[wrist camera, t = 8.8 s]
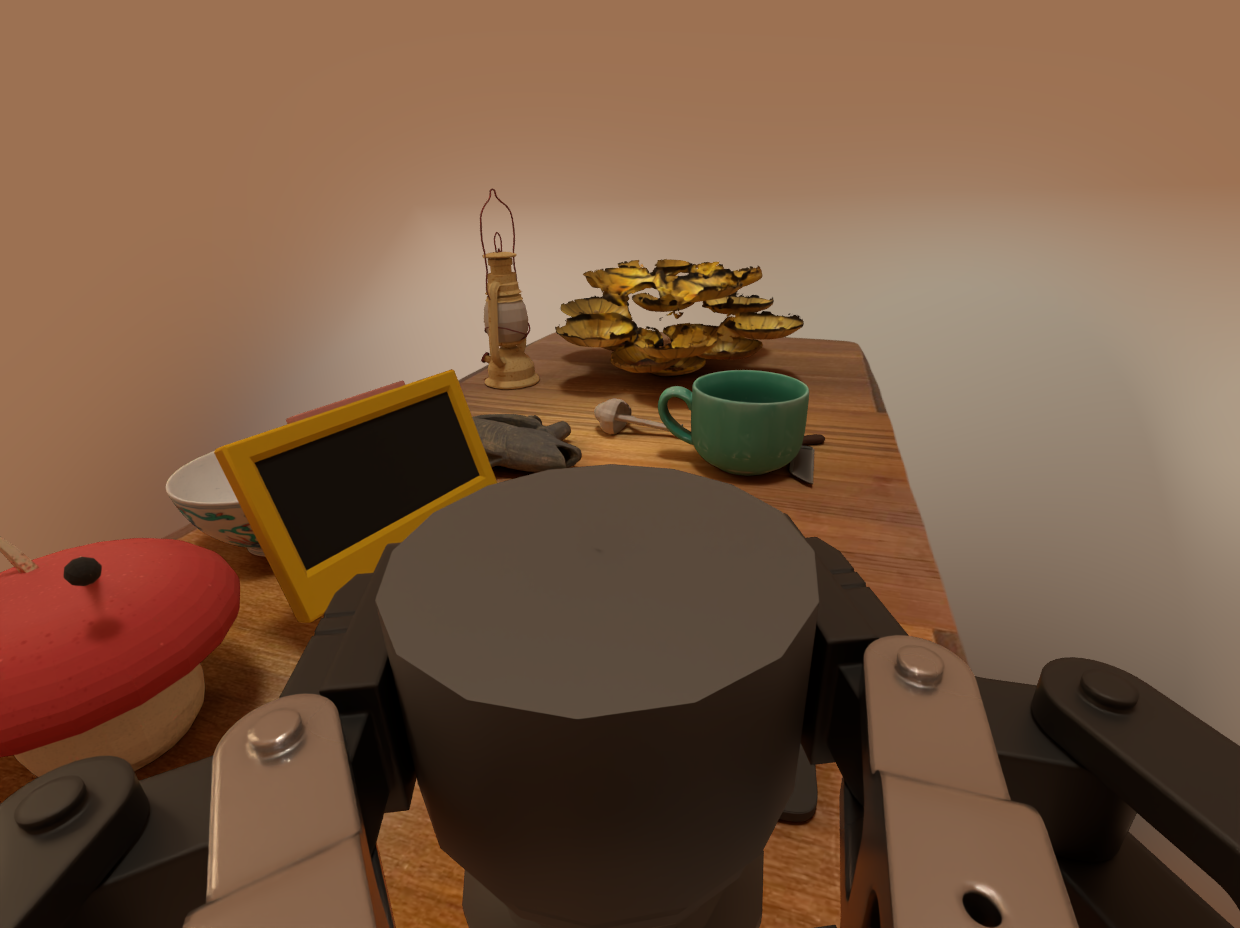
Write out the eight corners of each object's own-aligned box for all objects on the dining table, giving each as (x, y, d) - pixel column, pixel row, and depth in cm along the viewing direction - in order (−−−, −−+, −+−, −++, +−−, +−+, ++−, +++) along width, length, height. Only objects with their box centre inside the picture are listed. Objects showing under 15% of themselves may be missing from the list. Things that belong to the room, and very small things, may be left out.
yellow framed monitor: (320, 663, 42) (258, 455, 35) (255, 627, 46) (189, 432, 39) (509, 532, 57) (490, 371, 51) (449, 513, 61) (424, 360, 55)
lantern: (500, 370, 110) (481, 189, 98) (551, 373, 107) (537, 187, 95) (467, 390, 99) (441, 189, 87) (522, 393, 97) (503, 187, 84)
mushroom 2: (-131, 820, 32) (-320, 586, 26) (152, 628, 46) (74, 445, 40) (88, 905, 28) (-75, 650, 22) (326, 666, 42) (269, 469, 35)
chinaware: (397, 502, 64) (383, 434, 60) (318, 588, 50) (295, 505, 47) (263, 499, 65) (243, 432, 62) (152, 580, 52) (119, 500, 48)
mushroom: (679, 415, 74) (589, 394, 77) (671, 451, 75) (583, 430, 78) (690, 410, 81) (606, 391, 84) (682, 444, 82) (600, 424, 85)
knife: (792, 436, 77) (792, 431, 77) (824, 439, 76) (825, 434, 76) (785, 483, 65) (786, 478, 65) (824, 488, 64) (825, 482, 64)
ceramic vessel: (552, 447, 63) (613, 417, 76) (369, 414, 72) (451, 392, 85) (551, 493, 64) (611, 455, 77) (373, 454, 74) (453, 427, 87)
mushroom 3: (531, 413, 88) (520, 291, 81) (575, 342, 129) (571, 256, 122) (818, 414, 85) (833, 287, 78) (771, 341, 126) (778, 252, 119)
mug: (804, 448, 74) (813, 373, 70) (796, 494, 63) (805, 408, 59) (673, 435, 79) (674, 364, 75) (645, 474, 68) (644, 394, 65)
